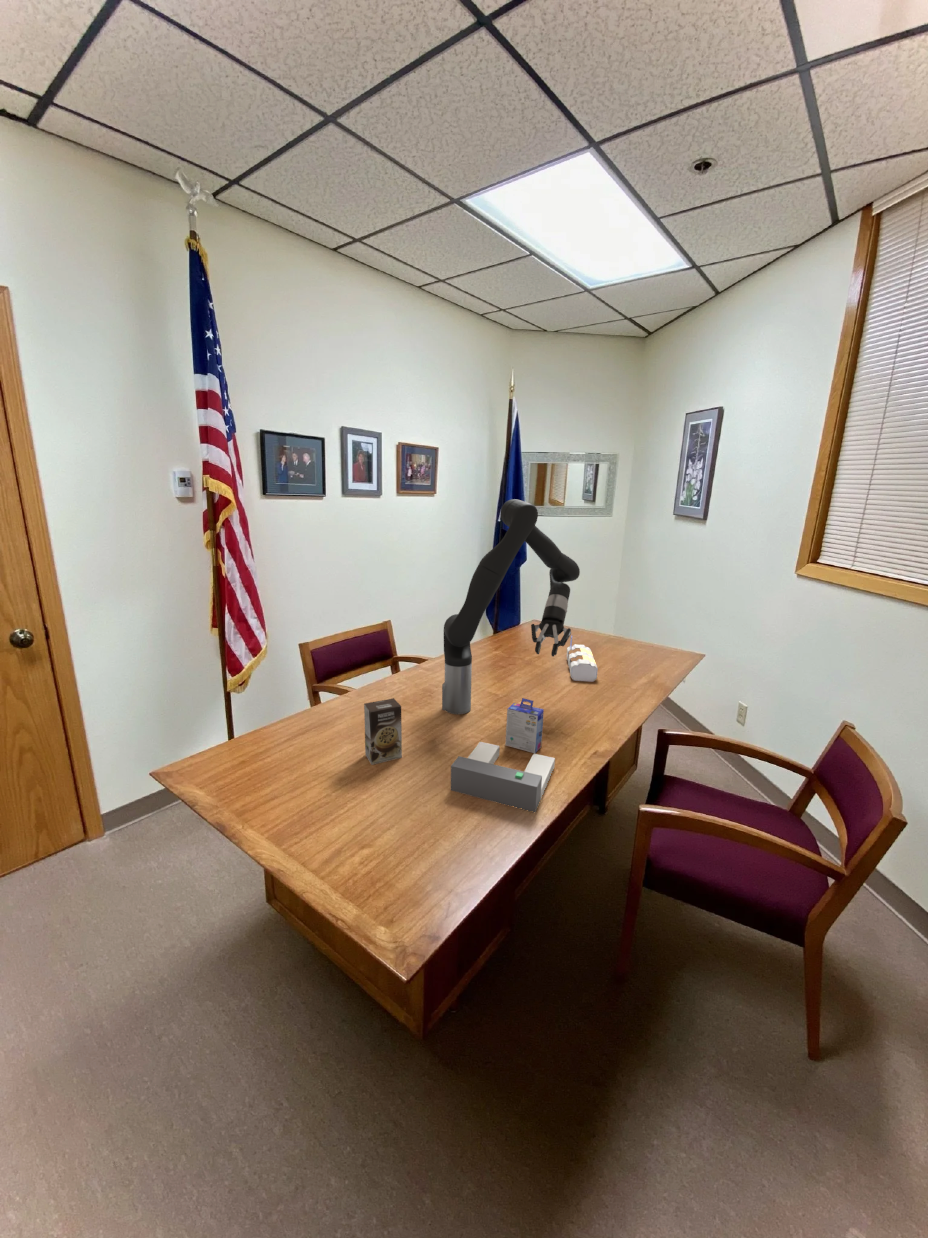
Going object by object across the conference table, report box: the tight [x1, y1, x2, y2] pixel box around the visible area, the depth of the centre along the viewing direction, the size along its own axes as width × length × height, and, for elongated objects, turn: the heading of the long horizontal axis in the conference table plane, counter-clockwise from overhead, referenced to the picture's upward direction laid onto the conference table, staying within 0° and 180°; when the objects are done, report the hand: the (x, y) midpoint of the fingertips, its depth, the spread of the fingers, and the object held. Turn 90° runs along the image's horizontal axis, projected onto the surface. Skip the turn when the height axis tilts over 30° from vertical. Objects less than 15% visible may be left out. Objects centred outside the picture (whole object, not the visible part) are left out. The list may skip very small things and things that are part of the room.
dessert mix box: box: [363, 697, 403, 766], centre depth 135 cm, size 9×6×16 cm
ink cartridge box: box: [504, 697, 545, 754], centre depth 142 cm, size 10×6×14 cm, turn 62°
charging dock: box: [450, 741, 556, 813], centre depth 127 cm, size 22×21×8 cm
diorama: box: [566, 634, 598, 682], centre depth 205 cm, size 25×10×13 cm, turn 172°
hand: (545, 654), depth 158 cm, fingers open, 4 cm apart
